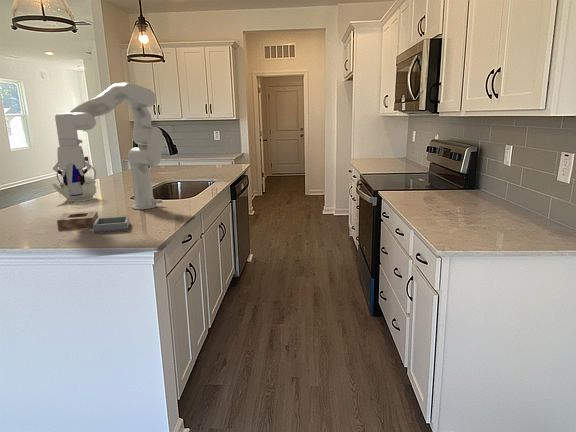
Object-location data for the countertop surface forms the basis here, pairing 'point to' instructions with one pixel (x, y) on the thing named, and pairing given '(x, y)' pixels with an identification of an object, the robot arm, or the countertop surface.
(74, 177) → the beverage can
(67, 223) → the socket block
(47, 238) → the countertop surface
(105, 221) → the tray
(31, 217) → the countertop surface
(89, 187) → the kettle
